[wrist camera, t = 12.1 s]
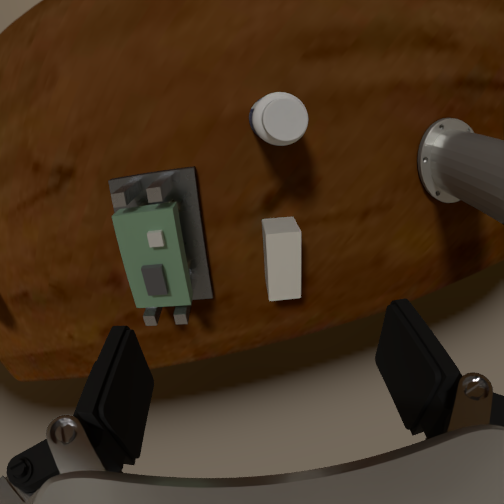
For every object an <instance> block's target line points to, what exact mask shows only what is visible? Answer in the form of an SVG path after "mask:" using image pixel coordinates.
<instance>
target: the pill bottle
mask: <svg viewBox="0 0 504 504" xmlns="http://www.w3.org/2000/svg"><path fill="white" fill-rule="evenodd" d="M249 122H250V126H251V128H252V130H253V131H254V133H255V134H256V135H257V136H259V137H260V138H261V139H263V140H264V141H266V142H267V143H270V144H272V145H277V146H285V145H289V144H292V143H294V142H296V141H298V140H299V139H300V138H301V137H302V136H303V134H304V133H305V131H306V129H307V126H308V113H307V110H306V108H305V106H304V104H303V103H302V102H301V101H300V100H299V99H298V98H297V97H295V96H293V95H291V94H288V93H284V92H275V93H271V94H268V95H266V96H264V97H263V98H261V99H259V100H258V101H257V102H256V103H255V104H254V105H253V107H252V108H251V111H250V114H249Z"/></svg>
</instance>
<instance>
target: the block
mask: <svg viewBox="0 0 504 504" xmlns="http://www.w3.org/2000/svg"><path fill="white" fill-rule="evenodd" d="M262 230H263V246H264V263H265V280H266V286H267V291H268V297H269V301H277V300H287V299H296V298H301V230H300V228H299V227H298V225H297V223H296V221H295V219H294V217H283V218H271V219H262Z"/></svg>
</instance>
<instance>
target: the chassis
mask: <svg viewBox="0 0 504 504" xmlns="http://www.w3.org/2000/svg"><path fill="white" fill-rule="evenodd" d="M108 182H109V187H110V192H111V197H112V202H113V207H114V212H115V213H116V212H117V211H118V210H119V209H124V208H131V207H138V206H145V205H153V204H161V203H169V202H177V206H178V213H179V219H180V225H181V231H182V237H183V242H184V248H185V254H186V259H187V264H188V270H189V275H190V280H191V285H192V290H193V297H192V300H196V299H210V298H213V291H212V284H211V278H210V272H209V266H208V259H207V252H206V246H205V239H204V232H203V225H202V218H201V210H200V203H199V195H198V187H197V179H196V171H195V166H194V167H186V168H178V169H171V170H163V171H156V172H150V173H143V174H137V175H131V176H125V177H120V178H114V179H110V180H109V181H108ZM191 303H192V302H191ZM162 308H163V307H147V308H146V310H145V312H144V315H143V318H144V321H145V324H146V326H151V325H157V324H158V321H159V317H160V314H161V311H162ZM190 309H191V305H182V306H176V307H175V311H174V319H175V322H176V324H188V320H189V314H190Z"/></svg>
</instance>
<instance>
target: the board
mask: <svg viewBox="0 0 504 504" xmlns="http://www.w3.org/2000/svg"><path fill="white" fill-rule="evenodd" d="M112 220H113V224H114V228H115V232H116V237H117V241H118V244H119V248H120V252H121V256H122V260H123V263H124V267H125V270H126V274H127V277H128V281H129V284H130V287H131V291H132V294H133V297H134V300H135V304H136V307H137V308H147V307H165V306H182V305H191V302H192V297H193V290H192V285H191V280H190V275H189V270H188V264H187V259H186V254H185V248H184V242H183V237H182V231H181V225H180V219H179V213H178V206H177V202H169V203H161V204H153V205H145V206H138V207H131V208H124V209H119V210H118V211H117V212H116V213H115V214H114V215H113V216H112Z"/></svg>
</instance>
